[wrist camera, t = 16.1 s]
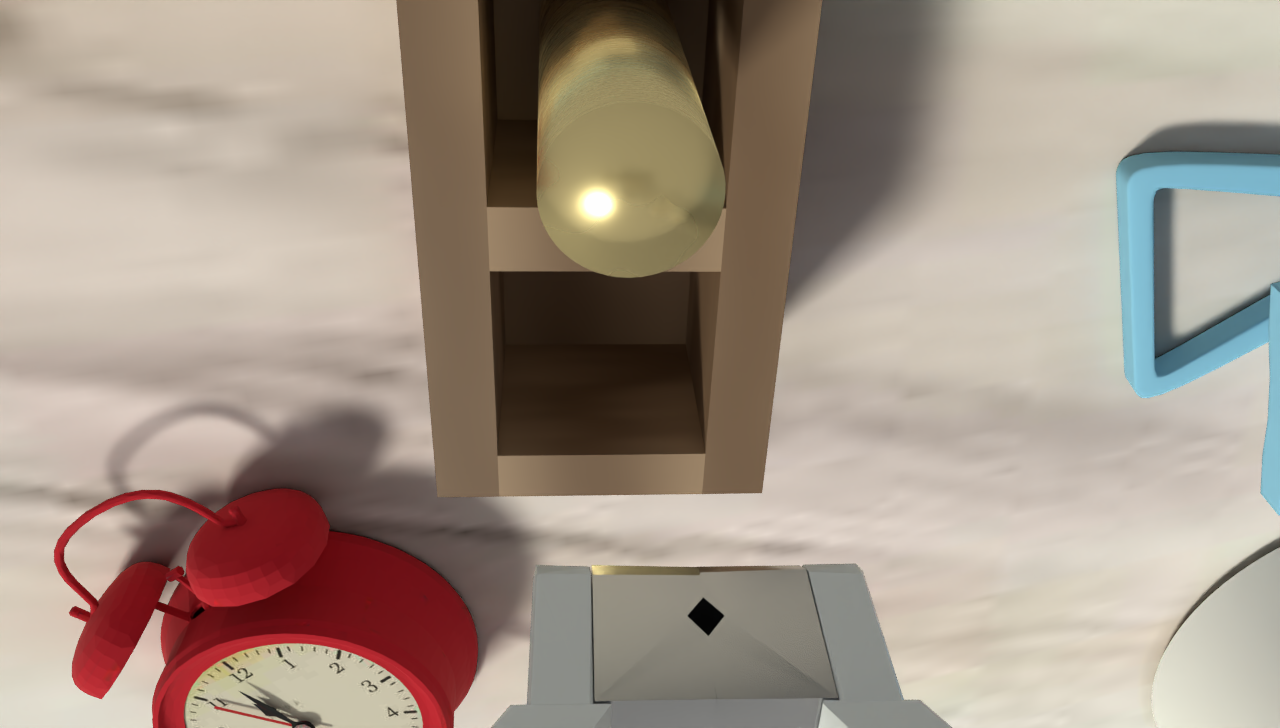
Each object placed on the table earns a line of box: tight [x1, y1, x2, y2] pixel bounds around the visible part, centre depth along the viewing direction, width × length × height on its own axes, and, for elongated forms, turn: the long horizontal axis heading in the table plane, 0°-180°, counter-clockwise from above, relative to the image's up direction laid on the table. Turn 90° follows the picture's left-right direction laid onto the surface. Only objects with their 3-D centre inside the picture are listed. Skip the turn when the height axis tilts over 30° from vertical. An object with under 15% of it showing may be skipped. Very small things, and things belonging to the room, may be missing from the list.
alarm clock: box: [54, 488, 478, 728], centre depth 36 cm, size 10×6×15 cm
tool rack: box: [396, 0, 822, 497], centre depth 26 cm, size 8×14×6 cm, turn 178°
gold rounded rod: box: [537, 0, 725, 278], centre depth 22 cm, size 3×3×10 cm
